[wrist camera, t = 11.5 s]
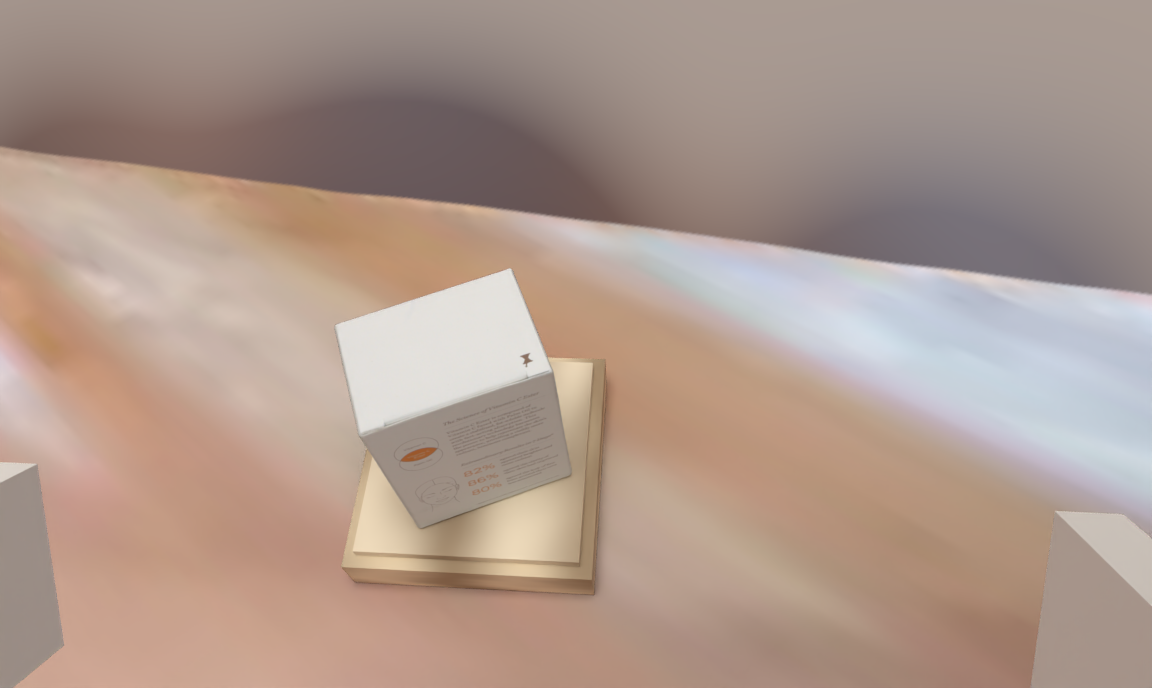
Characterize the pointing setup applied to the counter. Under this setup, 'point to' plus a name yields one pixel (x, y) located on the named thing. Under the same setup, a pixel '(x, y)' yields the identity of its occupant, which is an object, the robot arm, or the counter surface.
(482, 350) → the small box
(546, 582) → the podium
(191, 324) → the counter surface
